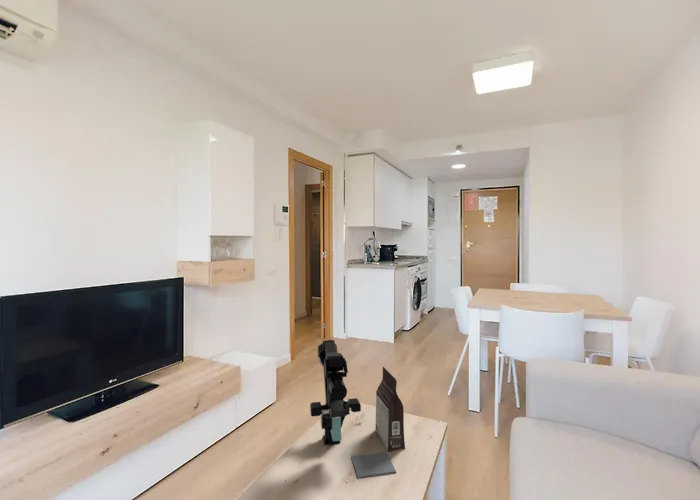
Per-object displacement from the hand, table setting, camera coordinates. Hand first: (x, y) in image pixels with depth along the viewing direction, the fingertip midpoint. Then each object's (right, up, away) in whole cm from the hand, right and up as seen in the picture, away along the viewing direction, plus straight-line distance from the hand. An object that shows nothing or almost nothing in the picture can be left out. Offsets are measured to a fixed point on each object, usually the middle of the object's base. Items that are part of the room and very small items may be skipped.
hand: (335, 429), depth 133 cm
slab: (0, -3, 0) cm, 2 cm away
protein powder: (+22, -11, +14) cm, 28 cm away
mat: (+14, -12, -3) cm, 19 cm away
